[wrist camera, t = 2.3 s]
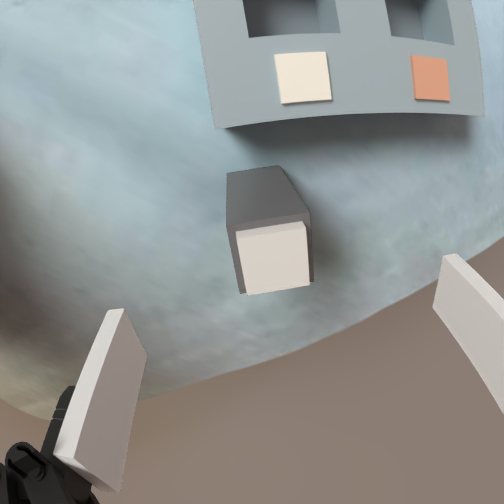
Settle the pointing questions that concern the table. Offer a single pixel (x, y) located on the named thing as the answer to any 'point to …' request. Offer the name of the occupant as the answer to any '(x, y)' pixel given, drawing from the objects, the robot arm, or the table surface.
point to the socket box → (338, 58)
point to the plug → (268, 231)
